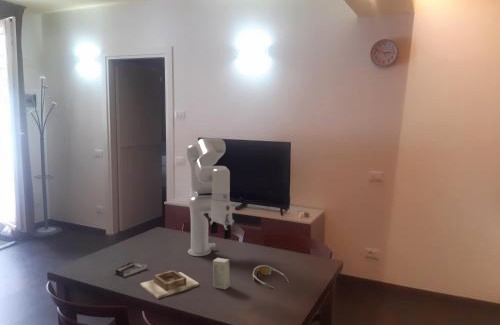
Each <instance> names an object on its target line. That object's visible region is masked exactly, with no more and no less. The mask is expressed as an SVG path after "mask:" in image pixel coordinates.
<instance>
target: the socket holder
mask: <svg viewBox="0 0 500 325" xmlns="http://www.w3.org/2000/svg"><path fill="white" fill-rule="evenodd" d="M152 277H153V279H151V280H150V279H149V280H147V281H143V282H140V286H141V287H142V288H143V289H144V290H146V292H147V293H149V294H150V295H152V296H153V297H154V298H156V299H157V300H159V299H161V298H164V297H167V296H171V295H174V294H177V293H180V292H183V291H186V290H189V289H193V288H195V287H198V286H200V283H199V282H198V281H196V280H194V279H193V278H191V277H189V276H188V275H186V274H185V273H183V272H182V271H180V272H179V271H176V270H174V269H173V270H168V271H166V272H162V273H158V274H154V275H153V276H152Z"/></svg>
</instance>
